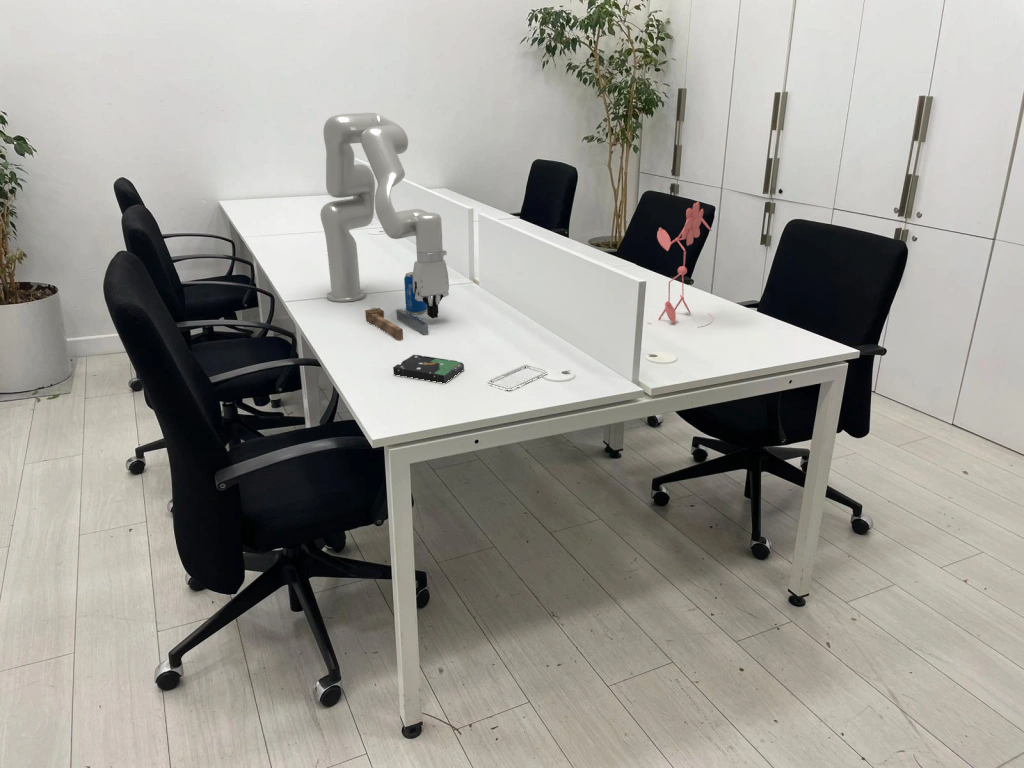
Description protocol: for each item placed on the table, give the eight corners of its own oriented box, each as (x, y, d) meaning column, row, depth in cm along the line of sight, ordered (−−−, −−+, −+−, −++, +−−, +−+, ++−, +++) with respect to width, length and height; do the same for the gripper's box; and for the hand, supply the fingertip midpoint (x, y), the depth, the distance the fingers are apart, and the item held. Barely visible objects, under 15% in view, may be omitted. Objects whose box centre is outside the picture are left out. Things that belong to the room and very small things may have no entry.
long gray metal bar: (397, 319, 234) (396, 309, 233) (401, 318, 235) (401, 308, 234) (423, 334, 221) (422, 324, 220) (428, 333, 222) (428, 323, 220)
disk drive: (393, 377, 192) (445, 385, 187) (392, 367, 191) (445, 374, 186) (414, 364, 201) (465, 371, 196) (413, 354, 200) (464, 360, 195)
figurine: (642, 326, 227) (652, 205, 213) (681, 306, 246) (693, 194, 232) (690, 337, 218) (704, 212, 205) (727, 315, 237) (742, 200, 224)
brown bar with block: (366, 321, 233) (365, 308, 232) (379, 318, 235) (378, 305, 234) (396, 340, 217) (395, 326, 215) (410, 337, 219) (410, 323, 217)
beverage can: (402, 312, 241) (399, 275, 237) (413, 307, 246) (411, 270, 242) (419, 315, 238) (417, 277, 234) (430, 310, 244) (429, 272, 239)
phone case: (509, 393, 182) (548, 375, 193) (509, 388, 182) (548, 370, 192) (486, 386, 186) (525, 368, 197) (485, 381, 186) (525, 363, 196)
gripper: (446, 251, 231) (448, 310, 238) (400, 257, 223) (404, 318, 230) (458, 255, 225) (461, 316, 232) (412, 262, 217) (416, 324, 224)
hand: (433, 317), depth 231 cm, fingers closed
